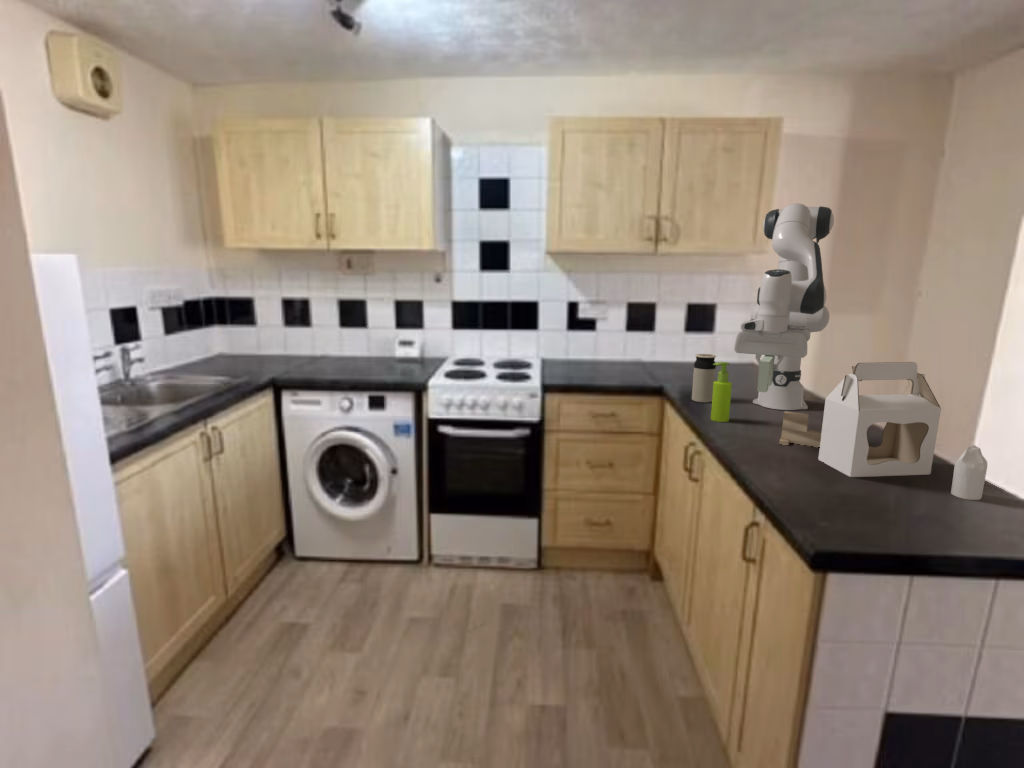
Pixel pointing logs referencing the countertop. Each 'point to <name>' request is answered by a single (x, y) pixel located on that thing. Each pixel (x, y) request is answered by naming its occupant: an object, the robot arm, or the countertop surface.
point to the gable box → (905, 414)
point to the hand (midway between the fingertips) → (768, 369)
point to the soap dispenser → (721, 395)
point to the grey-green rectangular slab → (765, 373)
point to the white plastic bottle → (969, 474)
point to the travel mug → (703, 378)
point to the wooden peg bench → (798, 430)
